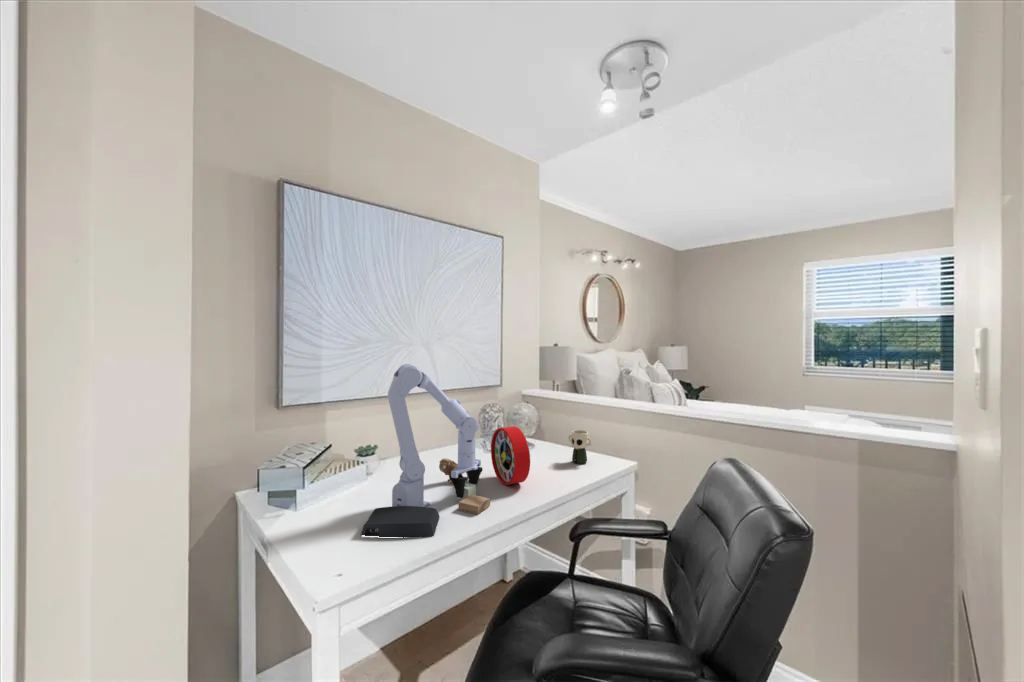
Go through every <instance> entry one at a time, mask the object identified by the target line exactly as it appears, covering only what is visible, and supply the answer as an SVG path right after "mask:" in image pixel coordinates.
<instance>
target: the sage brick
mask: <svg viewBox="0 0 1024 682" xmlns="http://www.w3.org/2000/svg"><path fill="white" fill-rule="evenodd" d="M471 494H472V495H477V487H476V485H475V484H470V483H469V482H465V486H464V495H463V498H459V497H457V496H456V499H457V498H458V499H457V500H461V499H462V500H463V499H465V498H466V497H468V496H469V495H471Z"/></svg>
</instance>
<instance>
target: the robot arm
mask: <svg viewBox="0 0 1024 682" xmlns="http://www.w3.org/2000/svg"><path fill="white" fill-rule="evenodd" d="M416 387H417V388H420V389H423V390H425V391H427V393H429V395H430V396H431V397H433V399H434V400H436V402H438V403H439V404H440V407H441V409H440V410H441V412H442V413H443V415H444V416H445V417H447V419H448V420H450V422H451V423H452V424H453V425H455V428H456V429H457V430H458V431H457V433H458V434H457V437H458V438H457V464H458V465H457V466H456V468H455V469H454V470H453V471H451V475H450V480H451V481H452V483H453V484H452V486H453V488H454V492H455V495H456V498H457V497H459V498H463V495H464V486H465V483H467V476H463V474H467V473H468V483H470V484H475V485H476V488H477V486H478V483H479V479H480V477H481V476H480V475H481V474H482V473H483V467H482V466H481V465H482V462H481V459H476V433H477V431H478V430H479V424H478V422H477V420H476V418H474V417H473V416H470V414H471V412H470V411H469V410H466V409H465V408H464V407H463V406H462V405H461V403H462V402H461V401H460V400H459V399H456V398H449V397H448V396H447V395H446V393H444V391H443V390H442V389H441V388H440V387H439V386H438V385H437V383H436V382H435V381H434V380H433V379H432V378H431V377H430V376H429V375H428V374H426V372H424V371H422V370H421V369H420V368H419V367H418V366H415V365H412V364H410V363H405V364H402V365H401V366H399V367H398V369H397V370H396V371H395V372H394V373H393V378H392V381H391V383H390V386H389V389H388V391H387V398H388V404H389V407H390V412H391V416H392V420H393V425H394V429H395V433H396V437H397V441H398V446H399V455H400V459H399V467H400V470H401V471H402V472H401V474H400V475H399V479H398V482H396V484H394V485H393V487H392V491H391V493H392V494H391V502H392V503H391V505H392V506H424V507H428V505H430V502H429V501H426V500H425V499H424V497H425V494H424V493H425V491H424V488H425V486H424V485H425V484H424V483H425V482H424V479H425V478H424V477H425V471H426V466H425V464H424V463H423V462H422V460H421V458H420V454H419V451H418V450H417V446H416V442H415V439H414V438H415V437H414V433H413V429H412V428H413V427H412V425H411V420H410V415H409V411H408V407H407V401H406V397H407V395H408V394H409V393H410V392H411V390H413V389H414V388H416ZM466 472H467V473H466ZM451 481H450V482H451ZM392 506H391V507H392Z"/></svg>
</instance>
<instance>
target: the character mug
mask: <svg viewBox="0 0 1024 682" xmlns="http://www.w3.org/2000/svg"><path fill="white" fill-rule="evenodd" d="M568 442H570V444H571V447H572V448H573V450H572V458H571V461H572V462H573V463H575V462H576V461H577V462H576V464H585V463H587V462H588V457H587V448H588V447H590V446H591V445H592V438H591V437H589V431H587V430H584V429H583V430H582V429H574V430H572V431H571V433H569V434H568ZM591 447H592V446H591Z"/></svg>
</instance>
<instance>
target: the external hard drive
mask: <svg viewBox="0 0 1024 682" xmlns="http://www.w3.org/2000/svg"><path fill="white" fill-rule="evenodd" d="M439 520H440V514H439V511H438V509H437V508H436V507H433V506H425V507H424V506H382V507H376V508H374V509H373V511H372V512H371V514H370V515H369V517H368V519H367V520H366V522H365V523H364V524H363V527H362V530H361V532H360V536H361V535H365V536H379V537H403V538H402V539H405V538H404V537H422V538H432V536H434V537H435V534H436V530H437V528H436V527H437V526H438V524H439Z"/></svg>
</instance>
